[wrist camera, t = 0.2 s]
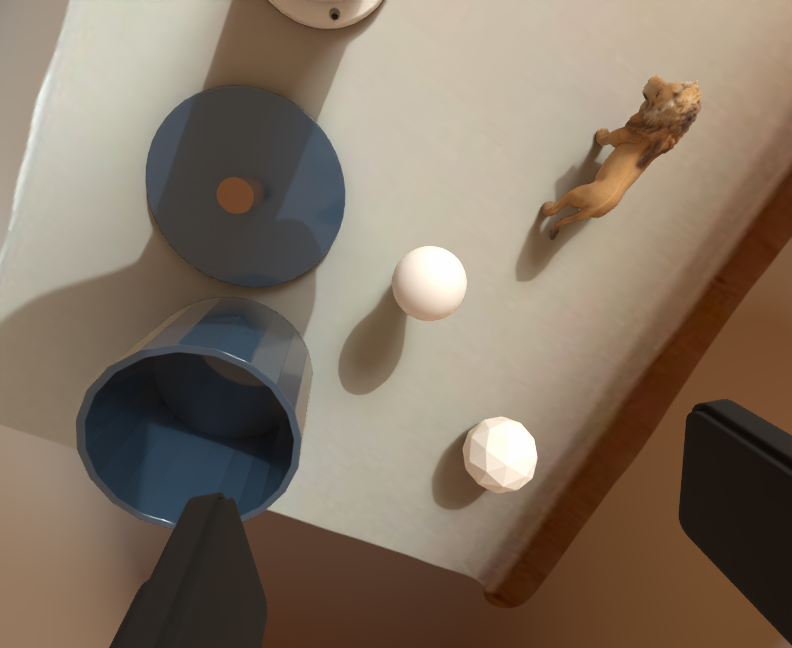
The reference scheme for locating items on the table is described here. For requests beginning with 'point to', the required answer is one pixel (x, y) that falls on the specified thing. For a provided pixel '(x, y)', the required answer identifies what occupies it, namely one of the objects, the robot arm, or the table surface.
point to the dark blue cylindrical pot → (200, 412)
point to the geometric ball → (500, 454)
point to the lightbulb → (429, 283)
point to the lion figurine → (633, 148)
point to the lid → (245, 186)
